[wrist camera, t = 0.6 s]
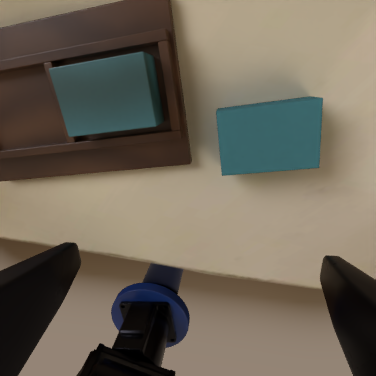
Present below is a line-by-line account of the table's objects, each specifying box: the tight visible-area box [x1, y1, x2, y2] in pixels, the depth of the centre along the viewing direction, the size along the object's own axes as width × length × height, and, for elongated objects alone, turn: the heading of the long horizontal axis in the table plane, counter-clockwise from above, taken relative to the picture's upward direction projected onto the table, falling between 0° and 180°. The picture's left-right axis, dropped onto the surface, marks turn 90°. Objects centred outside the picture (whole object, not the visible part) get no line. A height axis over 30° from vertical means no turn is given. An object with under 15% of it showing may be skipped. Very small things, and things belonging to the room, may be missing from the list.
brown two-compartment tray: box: [0, 0, 192, 181], centre depth 23 cm, size 14×22×4 cm, turn 98°
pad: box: [216, 96, 323, 176], centre depth 22 cm, size 6×8×3 cm
